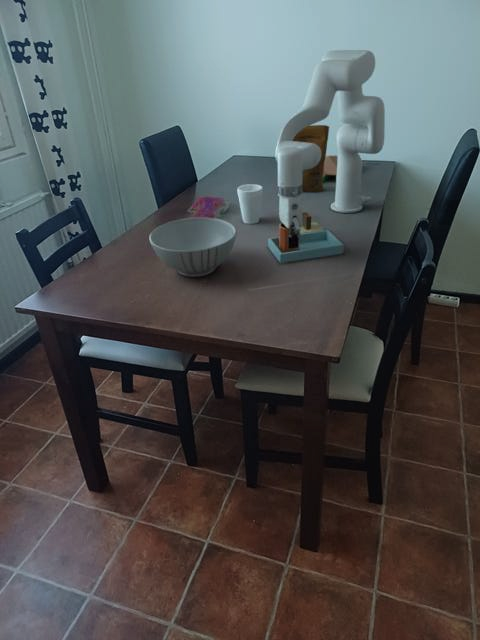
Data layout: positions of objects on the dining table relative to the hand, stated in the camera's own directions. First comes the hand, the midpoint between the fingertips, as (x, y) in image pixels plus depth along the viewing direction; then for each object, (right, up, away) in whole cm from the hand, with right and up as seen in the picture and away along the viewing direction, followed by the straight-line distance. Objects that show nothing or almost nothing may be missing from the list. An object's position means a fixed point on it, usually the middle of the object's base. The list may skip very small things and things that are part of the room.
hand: (289, 242), depth 156 cm
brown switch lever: (+7, +8, +13) cm, 16 cm away
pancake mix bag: (+13, +32, +56) cm, 66 cm away
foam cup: (-12, +13, +29) cm, 34 cm away
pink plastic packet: (-29, +17, +36) cm, 49 cm away
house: (+27, +47, +77) cm, 94 cm away
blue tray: (+5, -2, +3) cm, 7 cm away
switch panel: (+7, +5, +14) cm, 16 cm away
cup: (0, -3, +2) cm, 3 cm away
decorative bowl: (-30, -9, -4) cm, 32 cm away
